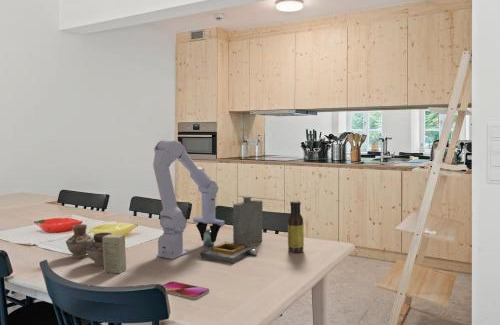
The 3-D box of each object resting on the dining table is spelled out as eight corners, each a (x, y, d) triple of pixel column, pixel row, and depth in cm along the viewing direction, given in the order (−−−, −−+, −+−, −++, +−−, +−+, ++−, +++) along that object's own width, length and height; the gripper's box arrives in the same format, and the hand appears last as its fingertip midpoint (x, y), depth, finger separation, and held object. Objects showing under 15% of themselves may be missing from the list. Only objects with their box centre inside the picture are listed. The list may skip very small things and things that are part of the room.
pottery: (85, 251, 162) (85, 221, 161) (126, 262, 147) (125, 230, 146) (58, 258, 152) (57, 226, 152) (98, 270, 138) (98, 236, 137)
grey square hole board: (239, 264, 144) (239, 256, 144) (200, 258, 152) (200, 250, 152) (262, 252, 160) (262, 244, 160) (225, 246, 168) (225, 239, 168)
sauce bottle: (306, 251, 161) (307, 202, 160) (294, 254, 158) (295, 203, 156) (296, 247, 167) (296, 199, 165) (284, 250, 163) (284, 201, 162)
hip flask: (236, 247, 168) (236, 199, 166) (230, 245, 171) (230, 198, 169) (263, 240, 179) (264, 195, 177) (257, 238, 182) (257, 194, 180)
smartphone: (171, 280, 127) (210, 289, 120) (171, 283, 127) (211, 292, 120) (155, 288, 121) (195, 297, 113) (155, 291, 121) (195, 301, 113)
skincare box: (126, 269, 139) (126, 234, 138) (120, 273, 135) (119, 237, 134) (109, 268, 140) (108, 233, 139) (102, 272, 136) (101, 236, 135)
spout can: (210, 247, 167) (210, 230, 166) (201, 246, 169) (201, 229, 168) (216, 245, 171) (215, 228, 170) (207, 243, 173) (207, 227, 172)
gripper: (228, 208, 169) (228, 240, 170) (199, 206, 176) (200, 236, 177) (219, 211, 163) (219, 244, 164) (190, 208, 169) (190, 240, 170)
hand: (208, 241), depth 170 cm, fingers closed on spout can, 4 cm apart
